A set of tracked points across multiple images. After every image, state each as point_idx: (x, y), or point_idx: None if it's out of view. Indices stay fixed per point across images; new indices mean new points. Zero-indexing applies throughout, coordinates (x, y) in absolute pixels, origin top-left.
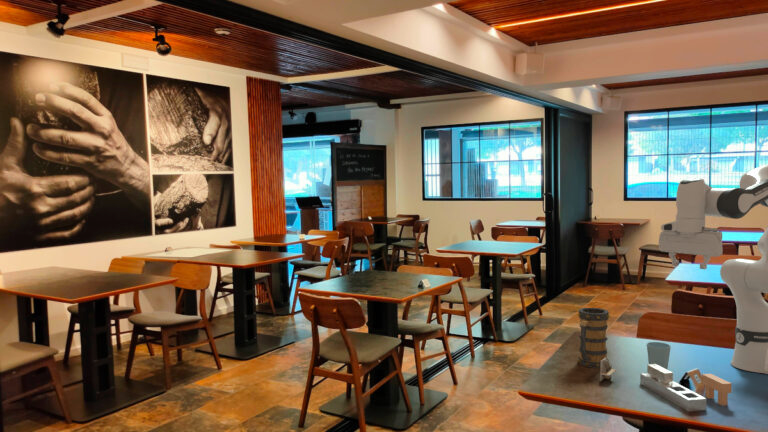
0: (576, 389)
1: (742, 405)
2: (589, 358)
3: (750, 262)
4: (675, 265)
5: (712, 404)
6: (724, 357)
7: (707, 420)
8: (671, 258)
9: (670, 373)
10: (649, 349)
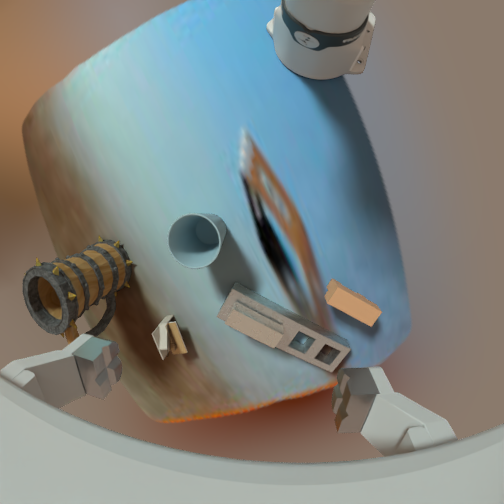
0: (179, 388)
1: (381, 279)
2: (111, 295)
3: None
4: (117, 372)
5: None
6: (249, 28)
7: None
8: (62, 398)
9: (280, 338)
10: (186, 262)
